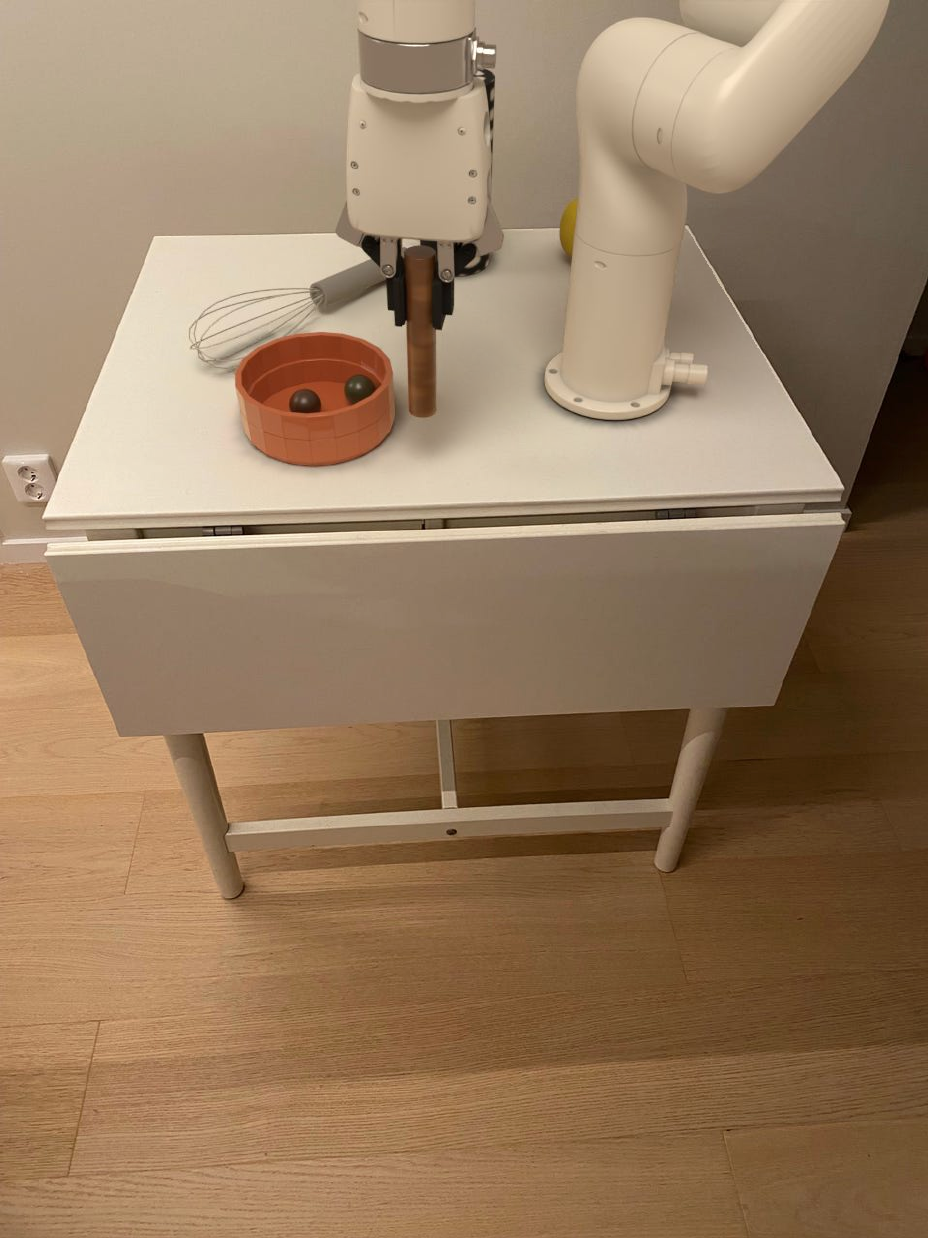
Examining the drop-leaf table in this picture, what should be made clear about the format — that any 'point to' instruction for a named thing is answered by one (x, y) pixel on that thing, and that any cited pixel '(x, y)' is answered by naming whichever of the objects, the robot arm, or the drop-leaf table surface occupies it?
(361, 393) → the bead
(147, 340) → the drop-leaf table surface
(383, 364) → the bowl
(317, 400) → the bead
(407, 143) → the robot arm
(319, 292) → the kitchen whisk
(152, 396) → the drop-leaf table surface
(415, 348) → the stirring stick
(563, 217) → the lemon
